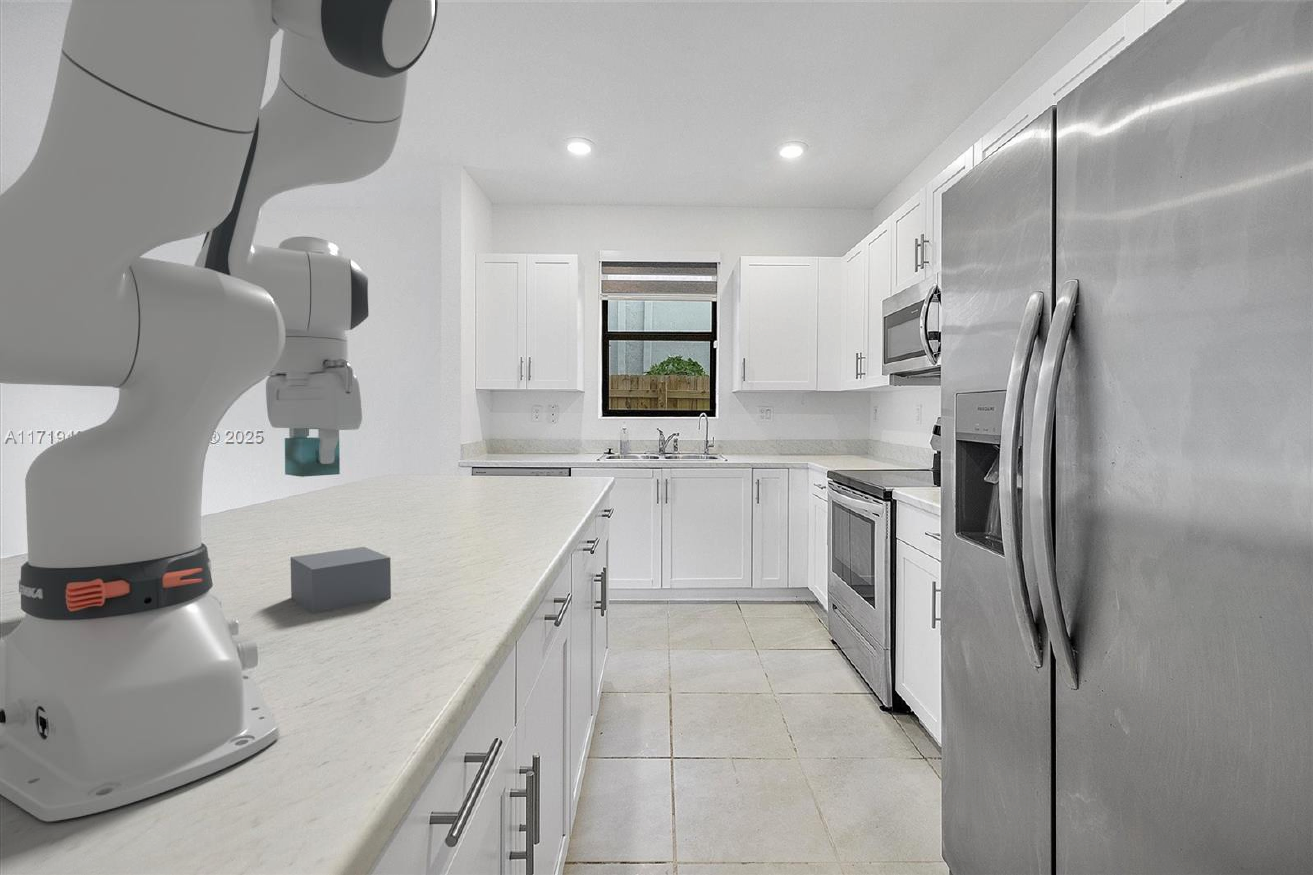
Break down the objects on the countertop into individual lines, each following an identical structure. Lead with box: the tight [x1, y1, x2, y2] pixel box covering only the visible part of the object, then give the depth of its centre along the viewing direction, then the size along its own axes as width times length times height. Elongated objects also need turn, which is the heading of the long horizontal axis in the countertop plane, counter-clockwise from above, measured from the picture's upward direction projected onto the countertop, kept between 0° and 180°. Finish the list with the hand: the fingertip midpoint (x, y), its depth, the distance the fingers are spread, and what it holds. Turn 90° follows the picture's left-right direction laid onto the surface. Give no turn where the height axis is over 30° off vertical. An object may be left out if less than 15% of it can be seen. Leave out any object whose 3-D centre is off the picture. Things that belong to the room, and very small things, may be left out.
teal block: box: [284, 436, 341, 478], centre depth 88 cm, size 5×5×5 cm
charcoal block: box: [290, 546, 392, 615], centre depth 90 cm, size 10×10×6 cm
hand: (314, 462), depth 88 cm, fingers closed on teal block, 5 cm apart
